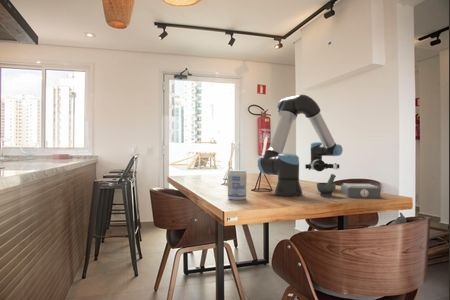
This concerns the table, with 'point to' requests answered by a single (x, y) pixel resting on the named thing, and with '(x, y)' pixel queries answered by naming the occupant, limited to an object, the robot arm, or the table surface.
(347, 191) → the kitchen scale
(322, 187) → the mortar and pestle
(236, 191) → the supplement tub
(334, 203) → the table surface
